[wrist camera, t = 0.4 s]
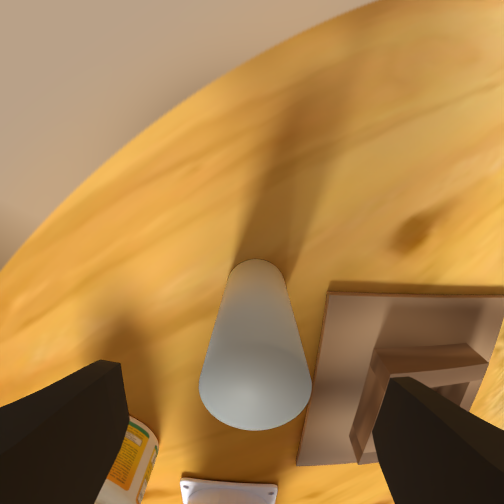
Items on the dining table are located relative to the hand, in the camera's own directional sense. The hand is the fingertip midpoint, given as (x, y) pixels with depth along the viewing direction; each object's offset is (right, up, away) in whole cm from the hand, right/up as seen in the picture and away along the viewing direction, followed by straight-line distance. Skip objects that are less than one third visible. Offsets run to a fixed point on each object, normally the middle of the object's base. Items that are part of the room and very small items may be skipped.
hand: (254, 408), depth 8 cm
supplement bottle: (-10, -10, +13) cm, 19 cm away
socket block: (+11, -5, +12) cm, 17 cm away
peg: (0, +2, +10) cm, 10 cm away
